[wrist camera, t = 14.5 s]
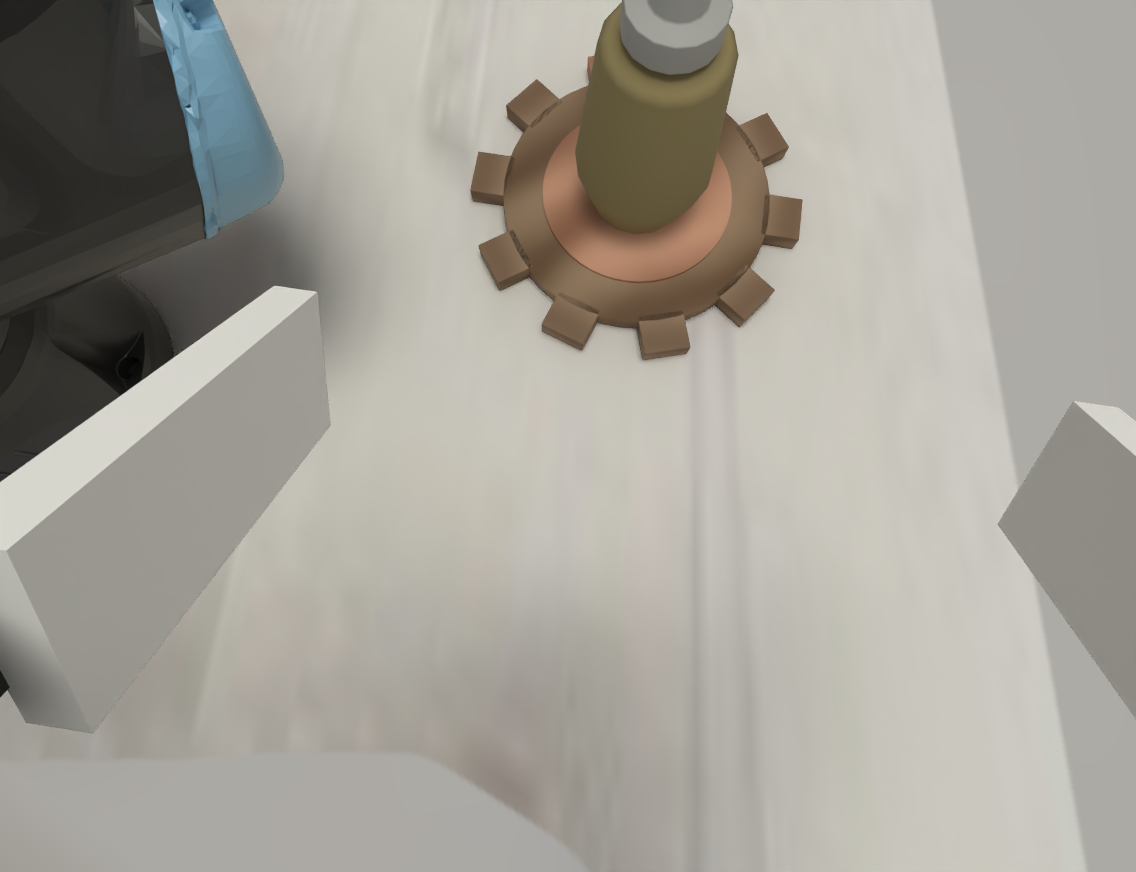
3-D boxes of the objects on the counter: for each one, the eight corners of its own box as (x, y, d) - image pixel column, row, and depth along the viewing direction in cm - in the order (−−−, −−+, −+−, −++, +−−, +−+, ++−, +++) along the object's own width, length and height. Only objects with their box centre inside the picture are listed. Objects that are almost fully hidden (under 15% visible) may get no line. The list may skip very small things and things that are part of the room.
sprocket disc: (408, 203, 43) (403, 190, 41) (629, 13, 46) (631, -6, 44) (641, 425, 40) (644, 420, 38) (858, 207, 43) (869, 194, 42)
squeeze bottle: (546, 185, 41) (539, -100, 24) (642, 113, 42) (703, -209, 25) (631, 277, 40) (689, 49, 23) (727, 201, 41) (853, -73, 24)
